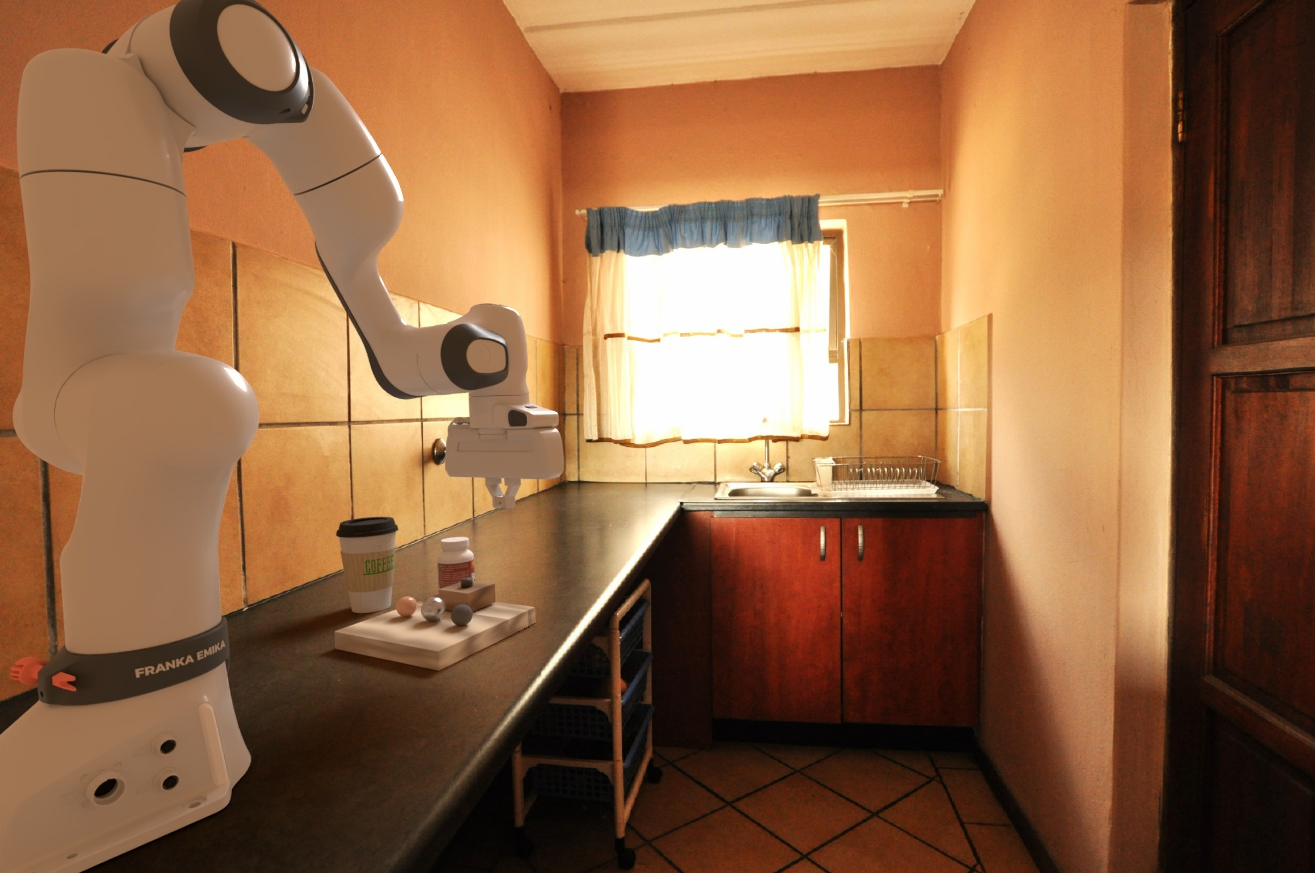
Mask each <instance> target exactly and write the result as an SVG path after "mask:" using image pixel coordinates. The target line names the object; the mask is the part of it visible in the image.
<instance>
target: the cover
mask: <svg viewBox="0 0 1315 873" xmlns="http://www.w3.org/2000/svg"><path fill="white" fill-rule="evenodd" d="M495 584H496V583H493V582H485V581H478V580H477V581H476V580H475V581H473V578H470V577H467V578H462V579H461V582H459V583H456V584H453V585H450V586H447V587H444V588H442V589H439V590H438V589H437V591H438V594H439V598H441V599H442V600H443V601H444V602H445V605H446V610H451V611H452V610H453V609H454V608H455V607H456V606H458V605H461V604H464V605H467V606H469V607H470V608H471V610H472V612H473V611H475V610H478V609H480V608H483V607H485V606H488V605H490V604H492V603H495V602H497V601H496V585H495Z"/></svg>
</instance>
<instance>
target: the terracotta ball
mask: <svg viewBox="0 0 1315 873" xmlns="http://www.w3.org/2000/svg"><path fill="white" fill-rule="evenodd" d="M417 602H418V601H417V600H416V599H415V597H412V596H403V597H401V598H399V600H398V601H397V603H396V604H395V605H396V606H395V607H396V608H395V610H397V612H398V614H399V615H401V616H403V617H409V616H411V615H413V614H414V613H415V612H416V610H417Z"/></svg>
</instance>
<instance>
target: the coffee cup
mask: <svg viewBox="0 0 1315 873" xmlns="http://www.w3.org/2000/svg"><path fill="white" fill-rule="evenodd" d="M395 521H396V520H395V518H394V517H391V516H369V517H361V518H359V517H358V518H353V519H348V520H344V521H341V522H340V523H339V526H338V529H337V530H336V531H335V532H336V534H335V536H336V537H337V538H338V540H339V546H340V549H341V550H340V556H341V562H342V563H341V564H342V568H343V573H344V579H345V585H346V590H347V592H348V596H349V601H350V608H351V612H353V613H357V614H364V613H365V614H369V613H370V614H371V613H376V612H379V611H380V612H381V611H383V610H386V609H388V608H390V607H391V605H392V594H393V593H392V592H393V585H394V579H395V578H394V577H395V566H396V550H397V546H396V534H397V532H398V531H399V527H398V526H399V525H398V524H396V522H395Z"/></svg>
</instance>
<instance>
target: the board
mask: <svg viewBox="0 0 1315 873" xmlns="http://www.w3.org/2000/svg"><path fill="white" fill-rule="evenodd" d="M431 597H438V598H439V593H438V594H435V595H433V596H431ZM431 597H428V598H431ZM428 598H425V599H424V598H423V599H422V600H419V601H416V602H417V610H416V612H415V613H414V614H413V615H411V616H409V617H403V616H401V615H399V614H398V612H397V610H396V609H394V610H391V611H388V612H386V613H381V614H379V615H376V616H374V617H370V618H368V619H366V620H363V621H360V622H357V623H354V624H352V625H348V626H346V627H343V628H340V629H337V630H335V631H334V648H335V649H336V650H340V651H345V652H348V653H349V652H350V653H354V654H358V655H363V656H368V657H371V658H372V657H374V658H377V659H382V660H387V661H392V662H396V663H401V664H406V665H411V666H415V667H420V668H425V669H429V670H435V671H441V670H444V669H446V668H448V667H449V666H451V665H455V664H456V663H458V662H459V661H462V660H464V659H466V658H468V657H469V656H472V655H474V654H476V653H478V652H480V651H481V650H484V649H486V648H489V647H490V646H492V645H494V644H496V643H498V642H501V641H502V640H504V639H506V638H509V637H510V636H512V635H514V634H516V633H518V631H519V632H520V631H522V630H524V628H525V629H527V628H528V626H529V627H530V626H532V624H533V625H535V624H536V622H537V620H536V607H535V606H529V605H523V604H515V603H507V602H500V601H496V602H495V603H492V604H490V605H488V606H485V607H483V608H480V609H478V610H475V611H473V612H472V613H473V616H472V619H471V621H470V622H469V623H468V624H467V625H464V626H458V625H455V624H454V623H453V622H452V620H451V612H452V611H451V610H446V612H445V614H444V616H443V617H442V618H441V619H439V620H437V621H428V620H426V619H425V618H424V617H423V616H422V614H421V607H422V604H423V603H424V601H425V600H427V599H428ZM534 623H535V624H534ZM526 627H527V628H526Z"/></svg>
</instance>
